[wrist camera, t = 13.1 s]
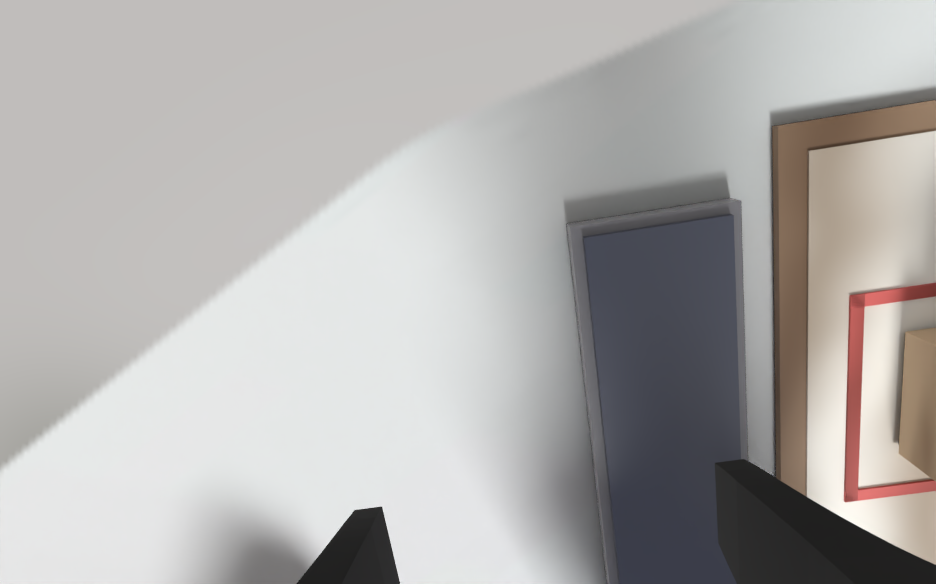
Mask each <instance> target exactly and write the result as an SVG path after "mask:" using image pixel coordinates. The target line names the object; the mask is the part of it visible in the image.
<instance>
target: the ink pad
mask: <svg viewBox="0 0 936 584" xmlns="http://www.w3.org/2000/svg"><path fill="white" fill-rule="evenodd" d="M567 233H568V241H569V250H570V259H571V268H572V277H573V286H574V295H575V304H576V313H577V322H578V331H579V340H580V348H581V357H582V366H583V375H584V384H585V393H586V402H587V411H588V420H589V429H590V438H591V446H592V455H593V464H594V473H595V482H596V491H597V500H598V509H599V518H600V527H601V536H602V545H603V553H604V562H605V571H606V580H607V584H737V583H736V581H735V579H734V577H733V575H732V572H731V570H730V568H729V566H728V564H727V562H726V559H725V557H724V555H723V553H722V550H721V548H720V546H719V544H718V526H717V503H716V481H715V463H717V462H725V461H732V460H740V459H745V460H747V461H748V444H747V406H746V367H745V329H744V291H743V253H742V215H741V201H740V200H736V199H732V198H729V199H722V200H716V201H710V202H703V203H697V204H690V205H684V206H677V207H671V208H665V209H658V210H652V211H645V212H639V213H633V214H626V215H620V216H613V217H607V218H601V219H594V220H588V221H581V222H575V223H569V224H567Z"/></svg>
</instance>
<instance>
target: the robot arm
mask: <svg viewBox="0 0 936 584" xmlns="http://www.w3.org/2000/svg"><path fill="white" fill-rule="evenodd" d="M715 481H716V503H717V526H718V544H719V546H720V548H721V550H722V553H723V555H724V557H725V559H726V562H727V564H728V566H729V568H730V570H731V572H732V575H733V577H734V579H735V581H736V583H737V584H936V565H935V564H933V563H931V562H928V561H926V560H924V559H922V558H920V557H917V556H915V555H913V554H911V553H909V552H907V551H905V550H903V549H901V548H899V547H897V546H895V545H893V544H891V543H889V542H887V541H885V540H883V539H881V538H879V537H877V536H876V535H874V534H872V533H870V532H868V531H866V530H864V529H862V528H860V527H858V526H857V525H855V524H853V523H851V522H849V521H848V520H846V519H844V518H842V517H840V516H839V515H837V514H835V513H834V512H832V511H830V510H828V509H827V508H825V507H823V506H821V505H820V504H818V503H816V502H815V501H813V500H811V499H810V498H808V497H806V496H805V495H803V494H801V493H800V492H798V491H796V490H795V489H793V488H791V487H790V486H788V485H787V484H785V483H783V482H782V481H780V480H778V479H777V478H775V477H774V476H772V475H770V474H769V473H767V472H765V471H764V470H762V469H760V468H759V467H757V466H755V465H754V464H752V463H750V462H749V461H747V460H745V459H740V460H732V461H725V462H717V463H715ZM297 584H400V582H399V577H398V573H397V569H396V565H395V560H394V556H393V552H392V548H391V543H390V539H389V535H388V531H387V526H386V522H385V518H384V514H383V509H382V507H376V508H368V509H360V510H355V511H354V512H353V513H352V514H351V516H350V517H349V518H348V519H347V521H346V522H345V523H344V524H343V526H342V527H341V528H340V529H339V531H338V532H337V533H336V535H335V536H334V537H333V539H332V540H331V541H330V542H329V544H328V545H327V546H326V548H325V549H324V550H323V551H322V553H321V554H320V555H319V557H318V558H317V559H316V560H315V562H314V563H313V564H312V565H311V567H310V568H309V569H308V570H307V571H306V573H305V574H304V575H303V576H302V578H301V579H300V580H299V581H298V583H297Z"/></svg>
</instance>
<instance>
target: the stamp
mask: <svg viewBox="0 0 936 584" xmlns="http://www.w3.org/2000/svg"><path fill="white" fill-rule="evenodd" d="M898 444H899V453H898V454H900V455H901V456H902V457H904V458H905V459H906V460H908V461H909V462H910V463H912V464H913V465H914V466H916V467H917V468H918V469H920V470H921V471H922V472H924V473H925V474H926V475H928V476H929V477H930V478H932V479H933V480H934V481H935V482H936V328H928V329H921V330H914V331H907V332H905V336H904V354H903V372H902V389H901V407H900V425H899V442H898Z"/></svg>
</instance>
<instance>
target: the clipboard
mask: <svg viewBox="0 0 936 584" xmlns="http://www.w3.org/2000/svg"><path fill="white" fill-rule="evenodd" d="M772 153H773V246H774V338H775V431H776V478H777V479H778V480H780V481H782V482H783V483H785V484H787V485H788V486H790V487H791V488H793V489H795V490H796V491H798V492H800V493H801V494H803V495H805V496H806V497H808V498H810V499H811V500H813V501H815V502H816V503H818V504H820V505H821V506H823V507H825V508H827V509H828V510H830V511H832V512H834V513H835V514H837V515H839V516H840V517H842V518H844V519H846V520H848V521H849V522H851V523H853V524H855V525H857V526H858V527H860V528H862V529H864V530H866V531H868V532H870V533H872V534H874V535H876V536H877V537H879V538H881V539H883V540H885V541H887V542H889V543H891V544H893V545H895V546H897V547H899V548H901V549H903V550H905V551H907V552H909V553H911V554H913V555H915V556H917V557H920V558H922V559H924V560H926V561H928V562H931V563H933V564H935V565H936V482H935V481H934V480H933V479H932V478H930V477H929V476H928V475H926V474H925V473H924V472H922V471H921V470H920V469H918V468H917V467H916V466H914V465H913V464H912V463H910V462H909V461H908V460H906V459H905V458H904V457H902V456H901V455H900V454H898V453H899V444H898V442H899V425H900V407H901V389H902V372H903V354H904V336H905V332H907V331H914V330H921V329H928V328H936V100H931V101H925V102H918V103H912V104H906V105H900V106H894V107H888V108H881V109H875V110H869V111H863V112H857V113H851V114H844V115H838V116H832V117H826V118H820V119H814V120H807V121H801V122H795V123H789V124H783V125H777V126H772Z"/></svg>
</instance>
